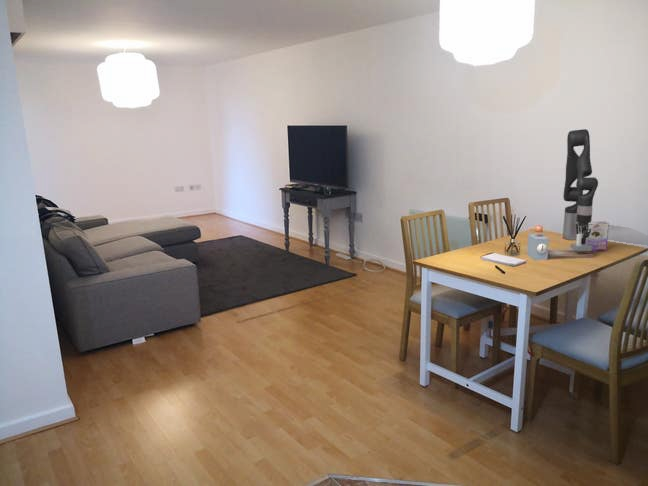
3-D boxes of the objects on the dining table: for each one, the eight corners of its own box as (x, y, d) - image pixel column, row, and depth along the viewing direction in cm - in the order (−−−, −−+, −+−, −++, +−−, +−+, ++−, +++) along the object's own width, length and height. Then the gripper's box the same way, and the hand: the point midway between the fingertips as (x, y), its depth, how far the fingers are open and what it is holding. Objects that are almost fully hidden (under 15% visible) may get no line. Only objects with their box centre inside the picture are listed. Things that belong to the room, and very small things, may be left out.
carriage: (570, 247, 286) (572, 233, 284) (584, 247, 286) (586, 232, 284) (577, 251, 278) (578, 236, 276) (591, 250, 278) (593, 235, 276)
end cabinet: (526, 254, 289) (527, 234, 286) (538, 253, 289) (540, 233, 286) (535, 260, 277) (536, 239, 274) (547, 259, 277) (549, 238, 274)
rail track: (540, 254, 288) (540, 248, 287) (586, 252, 287) (586, 247, 287) (547, 259, 278) (548, 253, 278) (594, 257, 278) (595, 251, 277)
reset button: (533, 230, 282) (533, 225, 281) (540, 230, 282) (541, 225, 281) (536, 232, 278) (536, 227, 277) (543, 232, 278) (543, 226, 277)
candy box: (602, 248, 296) (605, 221, 292) (606, 250, 290) (609, 223, 286) (578, 248, 298) (580, 221, 294) (581, 251, 292) (584, 223, 288)
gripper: (571, 211, 284) (569, 240, 288) (583, 216, 270) (580, 246, 274) (585, 210, 283) (582, 240, 288) (597, 215, 270) (594, 246, 274)
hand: (581, 243), depth 281 cm, fingers closed on carriage, 2 cm apart
